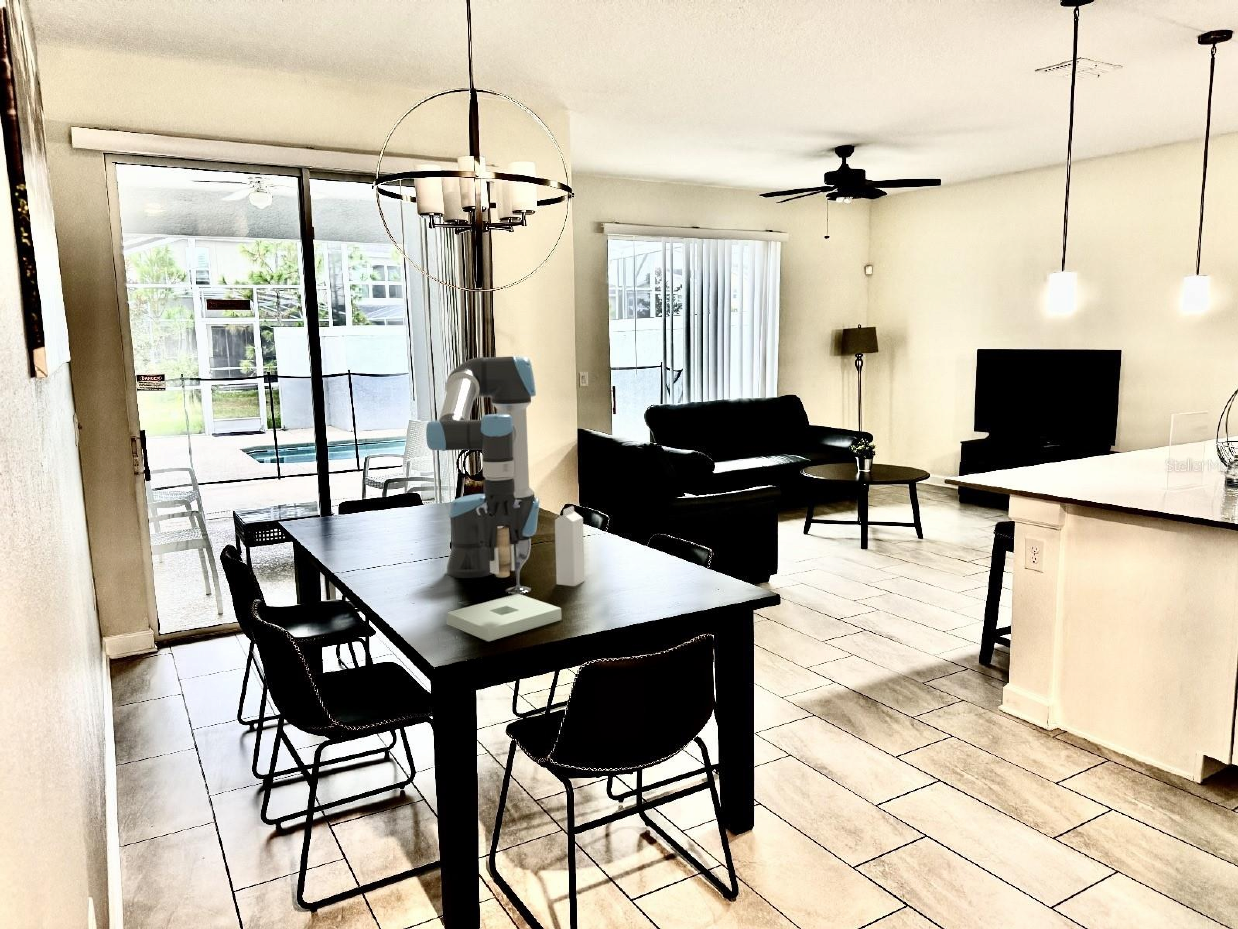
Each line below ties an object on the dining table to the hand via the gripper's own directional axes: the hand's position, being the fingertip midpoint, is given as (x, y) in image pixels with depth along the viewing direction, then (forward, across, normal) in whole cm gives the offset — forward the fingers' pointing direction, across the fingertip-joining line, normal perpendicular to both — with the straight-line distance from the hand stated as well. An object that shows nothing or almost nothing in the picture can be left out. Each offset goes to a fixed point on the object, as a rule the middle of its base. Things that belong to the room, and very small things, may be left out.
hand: (502, 571), depth 217 cm
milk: (+13, +34, +15) cm, 40 cm away
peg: (+1, 0, 0) cm, 1 cm away
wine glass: (+13, +19, +20) cm, 31 cm away
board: (+13, 0, 0) cm, 13 cm away
